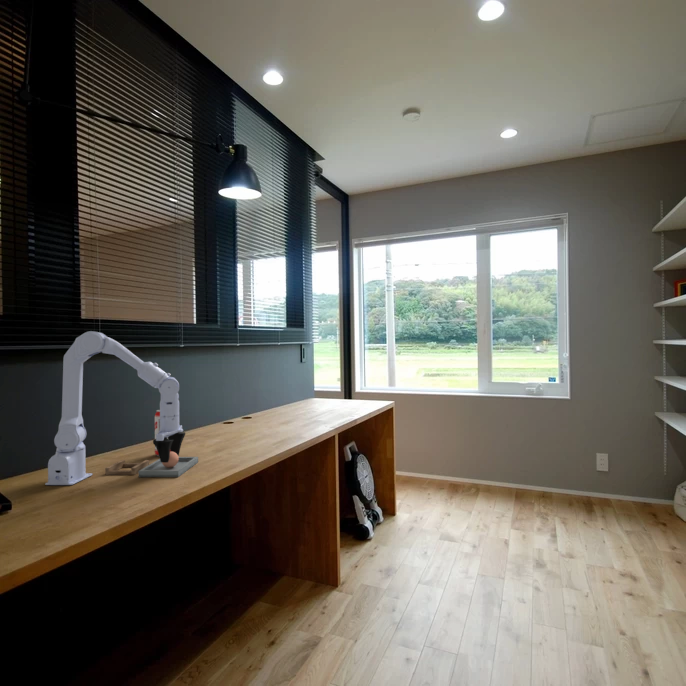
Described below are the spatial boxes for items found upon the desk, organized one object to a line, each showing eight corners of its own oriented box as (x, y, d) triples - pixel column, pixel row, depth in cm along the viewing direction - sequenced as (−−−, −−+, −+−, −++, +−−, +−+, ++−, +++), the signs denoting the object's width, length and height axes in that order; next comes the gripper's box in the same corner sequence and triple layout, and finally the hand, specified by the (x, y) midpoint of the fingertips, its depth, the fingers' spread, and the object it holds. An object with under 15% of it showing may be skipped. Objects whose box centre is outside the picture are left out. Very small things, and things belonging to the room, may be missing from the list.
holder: (134, 474, 129) (134, 468, 129) (105, 474, 129) (105, 468, 129) (148, 466, 138) (148, 460, 138) (121, 466, 138) (121, 460, 138)
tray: (178, 477, 126) (178, 470, 126) (138, 477, 126) (138, 471, 126) (198, 462, 142) (198, 456, 142) (162, 462, 142) (162, 456, 142)
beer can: (153, 457, 148) (153, 411, 148) (156, 453, 154) (155, 409, 154) (172, 456, 150) (172, 411, 150) (174, 452, 156) (174, 408, 156)
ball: (174, 469, 131) (174, 453, 131) (158, 469, 131) (158, 453, 131) (181, 464, 136) (181, 449, 136) (165, 464, 136) (165, 449, 136)
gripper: (172, 419, 127) (172, 465, 127) (191, 412, 141) (191, 452, 141) (149, 419, 127) (149, 465, 127) (170, 412, 141) (170, 452, 141)
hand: (170, 458), depth 134 cm, fingers open, 7 cm apart
